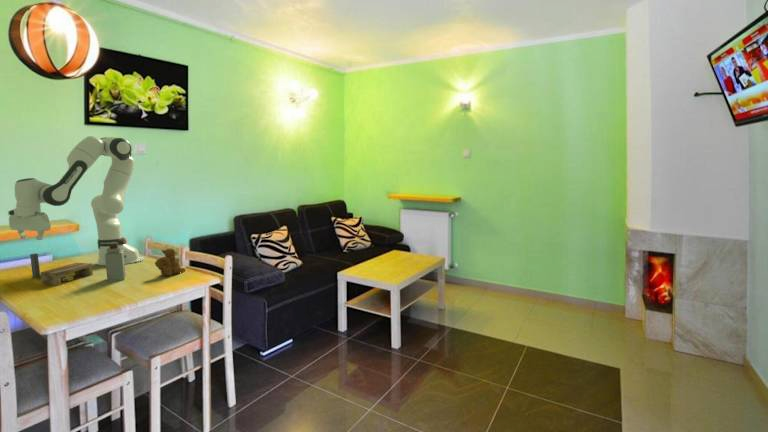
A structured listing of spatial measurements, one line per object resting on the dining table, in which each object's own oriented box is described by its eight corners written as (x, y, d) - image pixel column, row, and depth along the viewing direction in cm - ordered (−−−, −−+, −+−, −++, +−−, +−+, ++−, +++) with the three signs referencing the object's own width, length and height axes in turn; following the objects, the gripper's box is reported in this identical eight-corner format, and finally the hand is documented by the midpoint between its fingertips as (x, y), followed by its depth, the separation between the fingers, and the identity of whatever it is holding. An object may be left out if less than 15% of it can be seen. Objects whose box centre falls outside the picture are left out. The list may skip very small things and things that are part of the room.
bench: (42, 284, 184) (40, 272, 183) (77, 274, 202) (76, 262, 201) (58, 285, 182) (56, 273, 182) (92, 274, 200) (91, 263, 199)
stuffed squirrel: (186, 270, 209) (185, 246, 207) (172, 278, 195) (170, 252, 193) (168, 270, 209) (166, 246, 207) (152, 278, 195) (150, 252, 193)
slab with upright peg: (26, 279, 192) (23, 255, 191) (41, 275, 199) (38, 252, 197) (50, 280, 190) (47, 256, 188) (64, 276, 196) (62, 253, 195)
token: (75, 278, 195) (74, 276, 195) (73, 280, 191) (73, 278, 191) (63, 279, 193) (63, 277, 193) (61, 282, 189) (61, 280, 189)
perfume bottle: (107, 281, 189) (104, 245, 186) (109, 278, 195) (106, 242, 192) (124, 279, 192) (120, 244, 189) (125, 276, 198) (122, 241, 195)
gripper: (53, 211, 192) (55, 239, 194) (18, 210, 196) (21, 237, 197) (39, 213, 186) (42, 241, 188) (4, 211, 189) (7, 239, 191)
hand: (31, 239), depth 192 cm, fingers open, 8 cm apart
